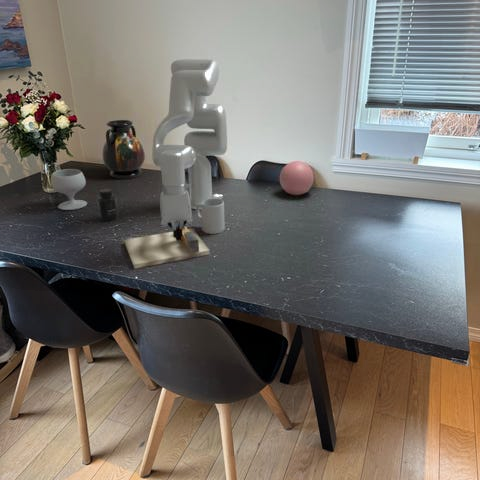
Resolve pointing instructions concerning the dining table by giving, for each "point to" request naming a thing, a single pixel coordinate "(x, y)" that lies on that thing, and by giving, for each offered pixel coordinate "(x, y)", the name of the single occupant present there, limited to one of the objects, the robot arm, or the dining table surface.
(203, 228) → the mug
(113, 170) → the amphora vase
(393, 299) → the dining table surface
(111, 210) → the supplement bottle
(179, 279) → the dining table surface
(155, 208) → the dining table surface
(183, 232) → the link
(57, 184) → the chalice
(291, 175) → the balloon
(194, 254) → the pivot board
